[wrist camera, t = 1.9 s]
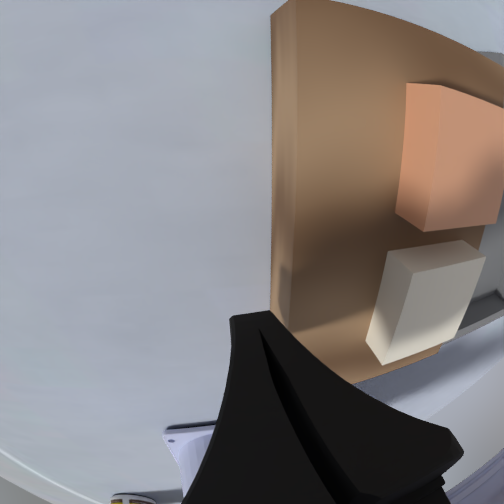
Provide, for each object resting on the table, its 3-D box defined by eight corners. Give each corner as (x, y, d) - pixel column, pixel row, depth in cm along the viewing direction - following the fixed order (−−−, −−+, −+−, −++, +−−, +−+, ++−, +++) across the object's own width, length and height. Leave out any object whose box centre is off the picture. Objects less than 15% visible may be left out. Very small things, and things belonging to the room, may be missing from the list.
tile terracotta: (469, 208, 11) (495, 223, 9) (394, 212, 10) (423, 231, 8) (483, 106, 8) (513, 113, 7) (406, 82, 8) (441, 85, 6)
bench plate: (416, 328, 17) (437, 352, 15) (268, 365, 16) (281, 402, 13) (465, 63, 10) (503, 67, 8) (270, 15, 8) (295, -6, 6)
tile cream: (435, 318, 13) (453, 337, 12) (365, 340, 13) (382, 365, 11) (462, 239, 11) (486, 256, 10) (387, 250, 10) (413, 273, 9)
